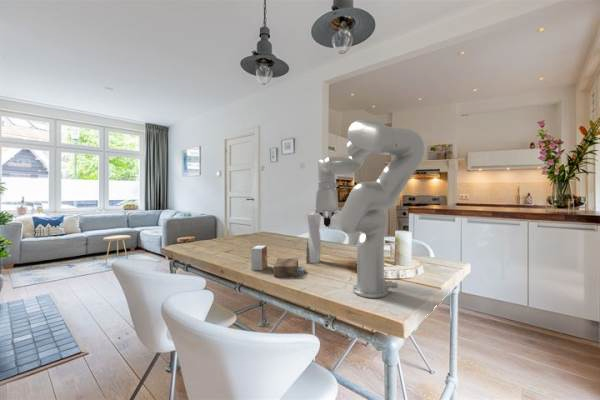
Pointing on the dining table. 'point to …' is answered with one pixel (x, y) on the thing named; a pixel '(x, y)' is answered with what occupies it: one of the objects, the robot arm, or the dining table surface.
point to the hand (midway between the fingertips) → (327, 226)
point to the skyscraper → (313, 239)
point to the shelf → (286, 268)
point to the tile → (300, 270)
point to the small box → (258, 257)
